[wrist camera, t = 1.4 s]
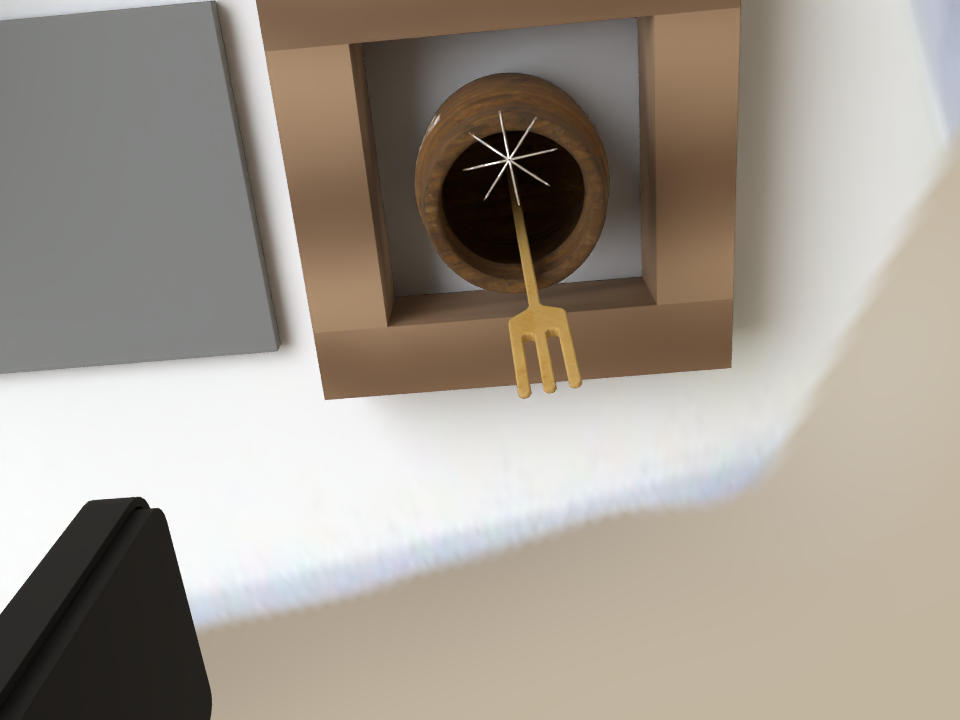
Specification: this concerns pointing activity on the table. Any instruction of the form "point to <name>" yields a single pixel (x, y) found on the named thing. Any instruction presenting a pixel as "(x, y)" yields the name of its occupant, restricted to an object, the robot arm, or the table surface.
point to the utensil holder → (515, 200)
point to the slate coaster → (125, 194)
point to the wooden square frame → (485, 314)
